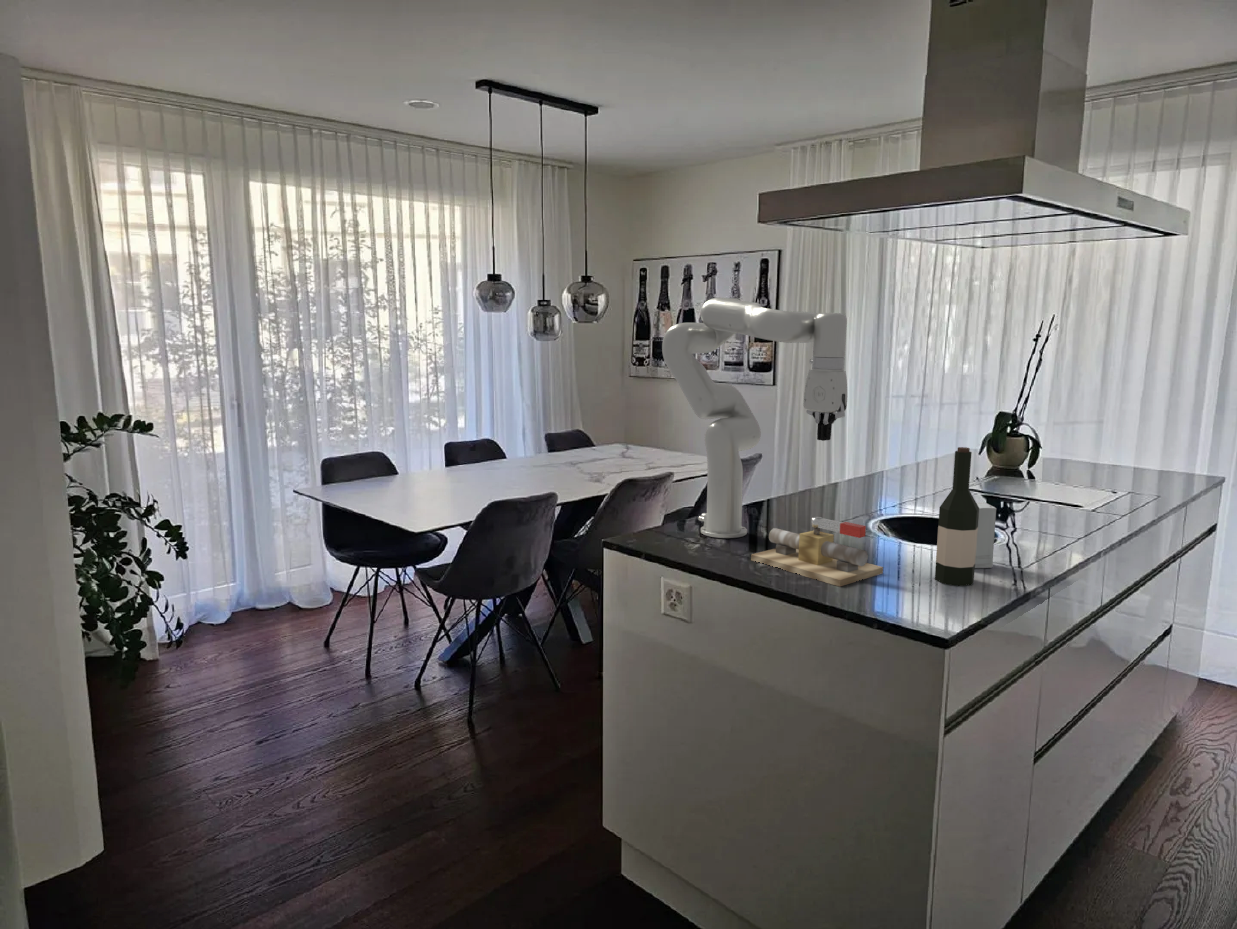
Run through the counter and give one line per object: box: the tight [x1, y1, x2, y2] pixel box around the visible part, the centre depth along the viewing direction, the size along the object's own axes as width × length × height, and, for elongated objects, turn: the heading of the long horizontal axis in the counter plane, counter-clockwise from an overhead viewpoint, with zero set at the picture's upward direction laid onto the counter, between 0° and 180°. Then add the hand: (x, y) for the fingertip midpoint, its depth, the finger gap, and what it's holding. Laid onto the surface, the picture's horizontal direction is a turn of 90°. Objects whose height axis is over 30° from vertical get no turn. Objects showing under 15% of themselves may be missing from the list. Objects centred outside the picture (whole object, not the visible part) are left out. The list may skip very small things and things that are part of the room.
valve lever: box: [810, 516, 867, 539], centre depth 190 cm, size 3×14×2 cm, turn 41°
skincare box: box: [975, 501, 997, 569], centre depth 196 cm, size 8×6×15 cm
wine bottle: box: [934, 446, 979, 587], centre depth 183 cm, size 8×8×30 cm
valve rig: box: [750, 527, 884, 587], centre depth 195 cm, size 26×16×10 cm, turn 38°
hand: (823, 439), depth 203 cm, fingers closed
